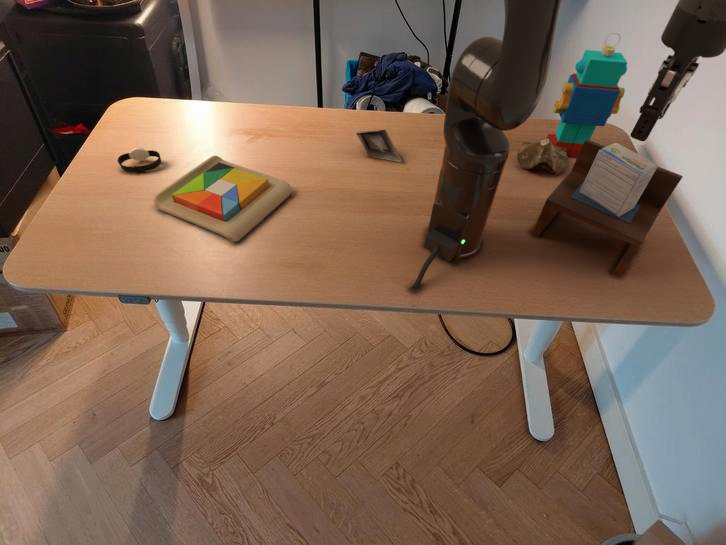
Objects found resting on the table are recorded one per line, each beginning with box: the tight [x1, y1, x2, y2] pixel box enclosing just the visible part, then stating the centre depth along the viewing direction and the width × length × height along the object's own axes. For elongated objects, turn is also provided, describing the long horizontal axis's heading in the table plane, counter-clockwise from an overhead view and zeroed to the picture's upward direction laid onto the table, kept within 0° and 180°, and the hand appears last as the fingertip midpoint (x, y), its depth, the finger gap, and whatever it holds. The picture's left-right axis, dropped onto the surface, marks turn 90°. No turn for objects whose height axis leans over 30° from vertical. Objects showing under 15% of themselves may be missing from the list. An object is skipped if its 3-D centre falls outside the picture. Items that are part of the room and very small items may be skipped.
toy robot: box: [546, 32, 628, 158], centre depth 96 cm, size 12×6×25 cm, turn 84°
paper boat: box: [355, 129, 403, 163], centre depth 98 cm, size 12×6×9 cm
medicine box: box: [580, 142, 659, 217], centre depth 77 cm, size 8×4×9 cm, turn 35°
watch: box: [117, 147, 162, 174], centre depth 92 cm, size 8×5×4 cm, turn 108°
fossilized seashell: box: [516, 138, 570, 175], centre depth 99 cm, size 8×7×10 cm
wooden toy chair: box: [532, 139, 684, 277], centre depth 81 cm, size 12×16×14 cm
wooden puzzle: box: [153, 155, 292, 242], centre depth 87 cm, size 18×19×4 cm
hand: (646, 127), depth 70 cm, fingers open, 8 cm apart
